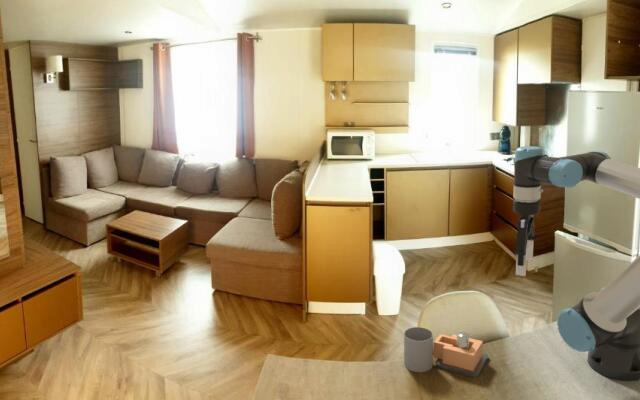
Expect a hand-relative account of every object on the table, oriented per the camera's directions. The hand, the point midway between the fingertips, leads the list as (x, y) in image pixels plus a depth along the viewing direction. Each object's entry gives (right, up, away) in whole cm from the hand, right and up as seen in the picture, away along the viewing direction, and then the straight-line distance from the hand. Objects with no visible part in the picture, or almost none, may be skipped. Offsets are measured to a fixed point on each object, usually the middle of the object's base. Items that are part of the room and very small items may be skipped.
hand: (524, 267), depth 163 cm
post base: (-20, -28, -3) cm, 34 cm away
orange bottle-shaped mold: (-21, -27, -3) cm, 34 cm away
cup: (-33, -29, -3) cm, 44 cm away
